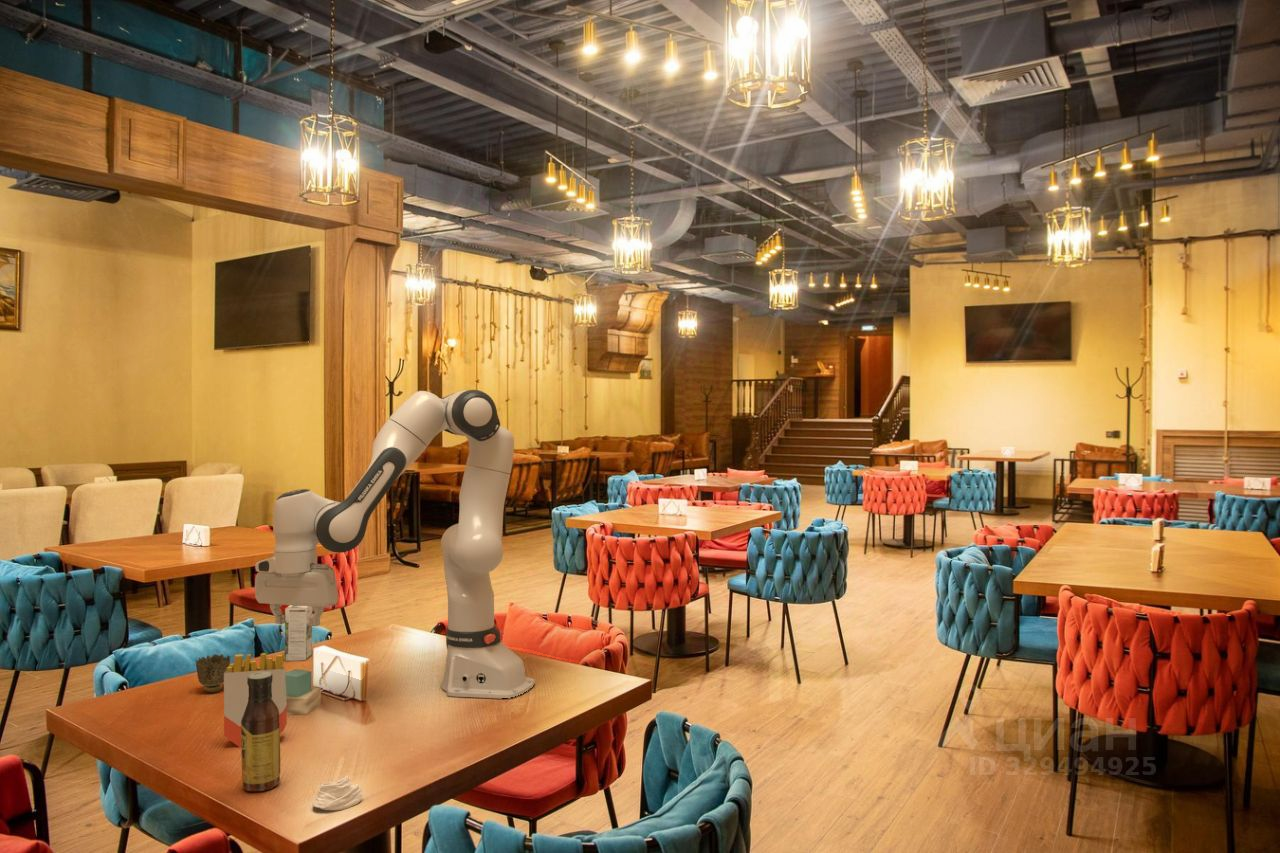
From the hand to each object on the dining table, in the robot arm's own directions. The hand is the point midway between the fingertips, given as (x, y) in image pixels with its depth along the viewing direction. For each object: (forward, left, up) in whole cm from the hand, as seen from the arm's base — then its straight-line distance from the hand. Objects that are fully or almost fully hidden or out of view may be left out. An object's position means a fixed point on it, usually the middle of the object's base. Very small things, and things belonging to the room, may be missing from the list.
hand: (297, 624), depth 191 cm
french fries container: (-6, +19, -19) cm, 27 cm away
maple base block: (0, 0, -19) cm, 19 cm away
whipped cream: (-40, +36, -19) cm, 57 cm away
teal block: (0, 0, -15) cm, 15 cm away
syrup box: (+29, -34, -19) cm, 49 cm away
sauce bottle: (-23, +35, -19) cm, 46 cm away
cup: (+28, -4, -19) cm, 34 cm away
